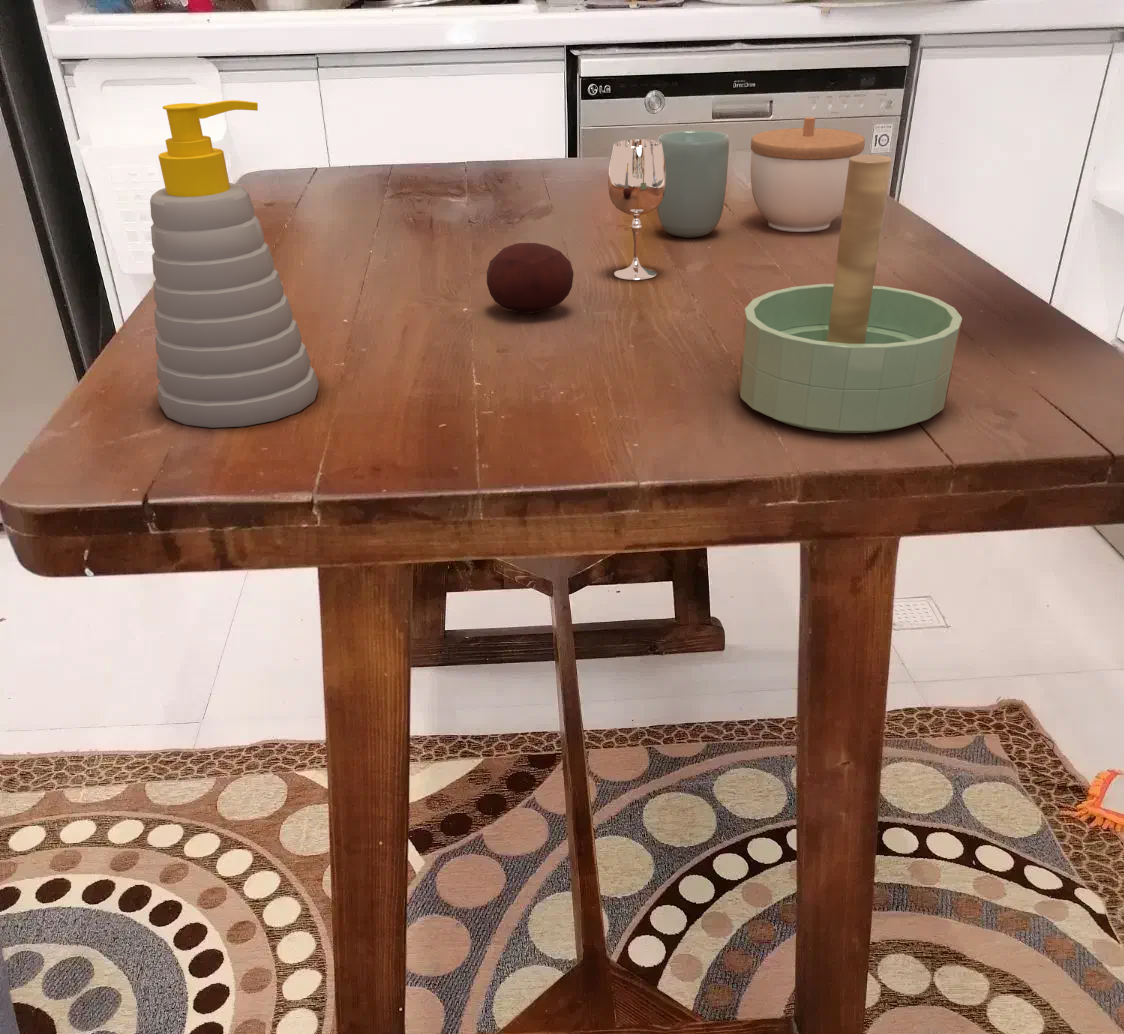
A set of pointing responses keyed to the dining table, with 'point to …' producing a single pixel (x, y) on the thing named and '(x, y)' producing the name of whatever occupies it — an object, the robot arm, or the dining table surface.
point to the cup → (693, 181)
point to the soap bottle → (218, 292)
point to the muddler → (858, 247)
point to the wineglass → (637, 190)
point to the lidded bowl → (802, 175)
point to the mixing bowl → (847, 360)
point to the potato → (529, 277)
